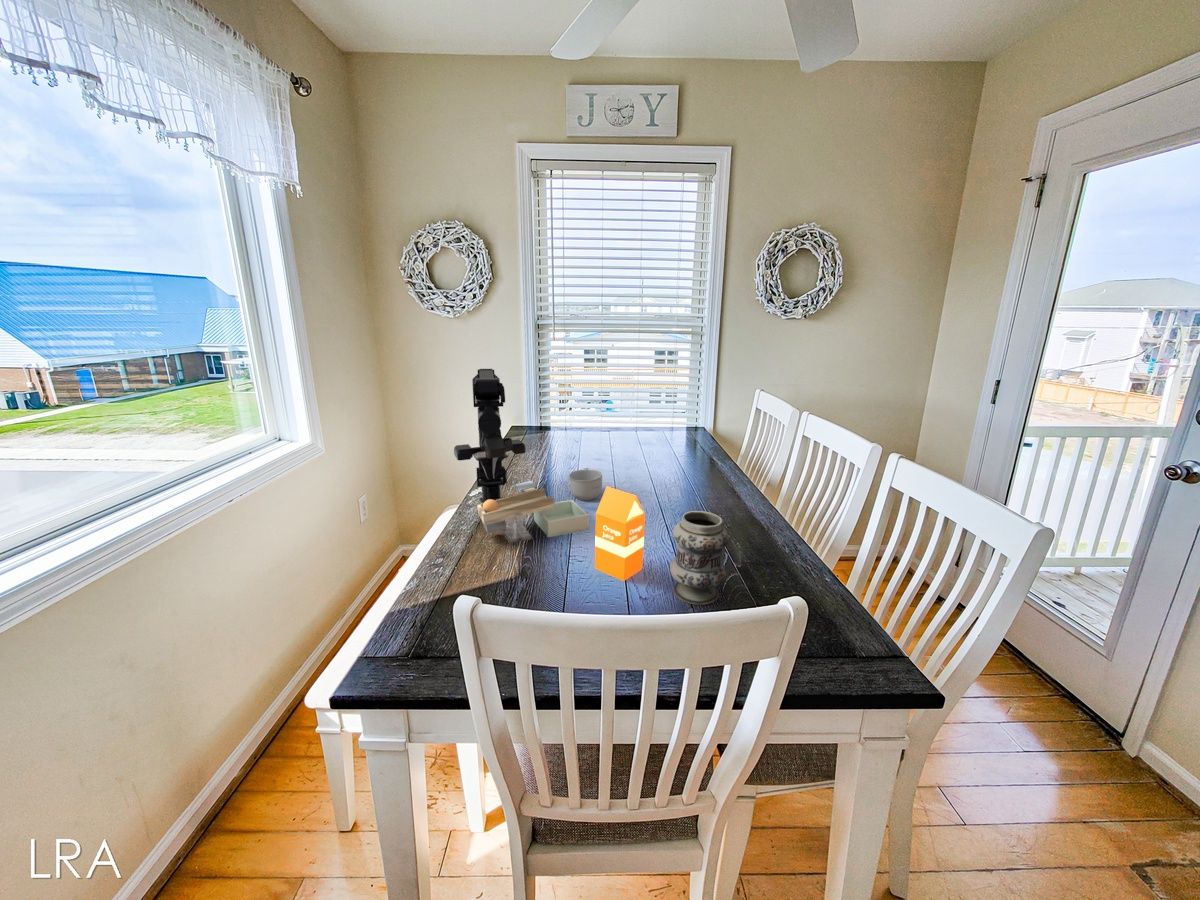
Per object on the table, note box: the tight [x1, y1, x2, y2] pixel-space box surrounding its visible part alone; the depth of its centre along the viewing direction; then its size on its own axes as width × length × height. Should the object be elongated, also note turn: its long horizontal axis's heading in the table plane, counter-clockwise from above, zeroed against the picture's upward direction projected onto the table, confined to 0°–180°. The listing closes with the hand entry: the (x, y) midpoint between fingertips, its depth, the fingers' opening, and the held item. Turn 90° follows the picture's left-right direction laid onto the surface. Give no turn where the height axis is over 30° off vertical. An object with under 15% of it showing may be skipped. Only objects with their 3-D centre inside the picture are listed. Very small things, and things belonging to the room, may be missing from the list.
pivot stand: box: [501, 513, 532, 544], centre depth 135 cm, size 10×6×8 cm, turn 26°
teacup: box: [568, 467, 603, 501], centre depth 163 cm, size 14×11×8 cm
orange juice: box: [594, 486, 646, 582], centre depth 116 cm, size 8×9×20 cm
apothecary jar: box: [669, 510, 730, 606], centre depth 108 cm, size 12×12×18 cm
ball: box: [483, 499, 498, 513], centre depth 131 cm, size 4×4×4 cm
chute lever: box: [476, 480, 554, 535], centre depth 139 cm, size 17×19×6 cm
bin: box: [533, 499, 590, 538], centre depth 141 cm, size 12×12×4 cm
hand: (491, 478), depth 140 cm, fingers closed
